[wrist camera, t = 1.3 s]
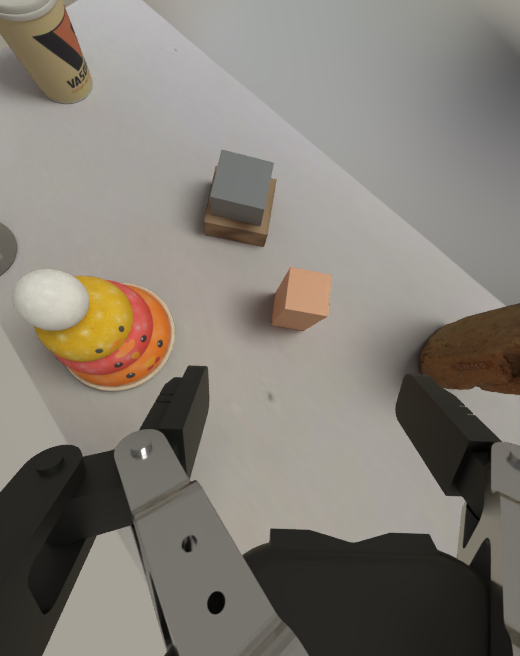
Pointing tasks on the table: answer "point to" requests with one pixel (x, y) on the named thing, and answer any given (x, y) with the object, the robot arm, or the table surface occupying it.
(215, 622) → the robot arm
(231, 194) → the tower top
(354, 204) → the table surface
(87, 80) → the coffee cup
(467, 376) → the block
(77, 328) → the stacking toy
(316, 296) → the pillar
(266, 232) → the tower base
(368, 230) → the table surface
